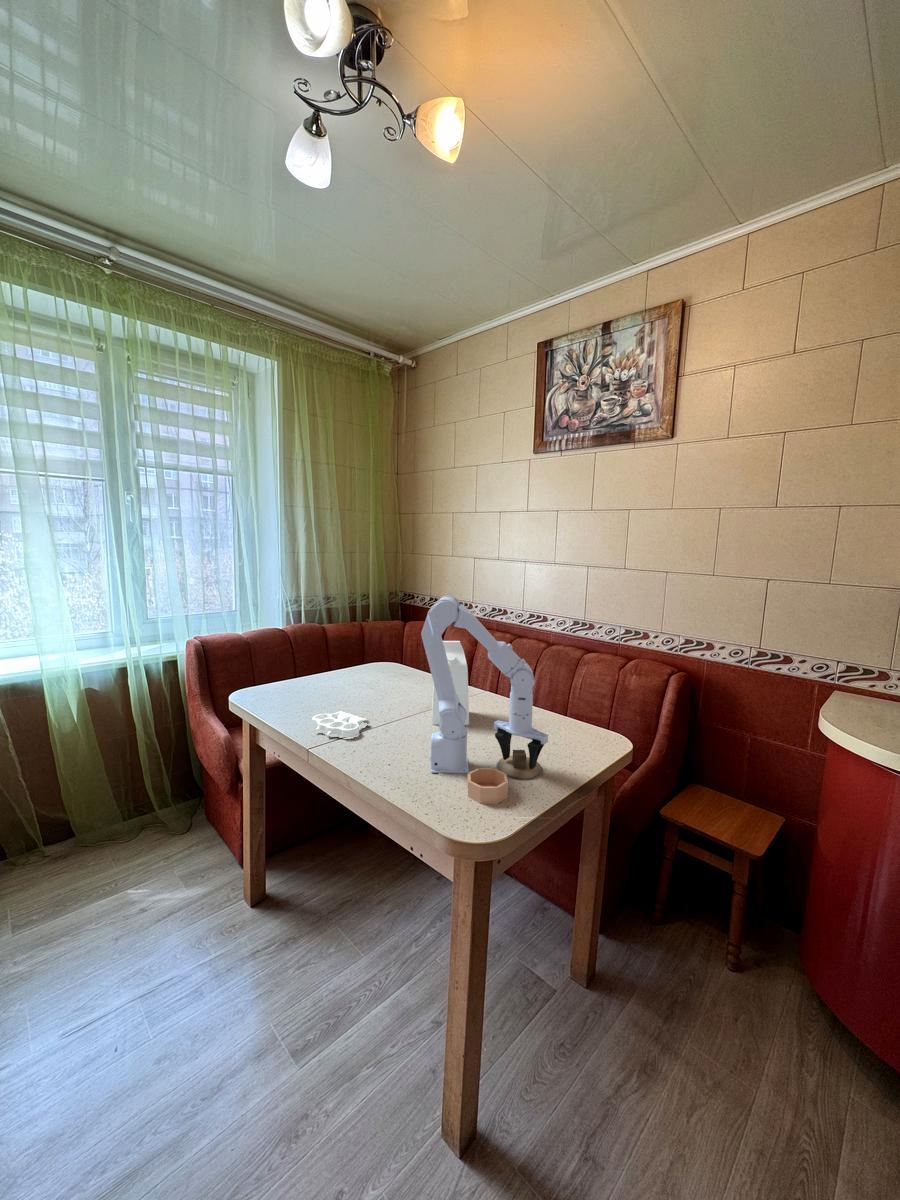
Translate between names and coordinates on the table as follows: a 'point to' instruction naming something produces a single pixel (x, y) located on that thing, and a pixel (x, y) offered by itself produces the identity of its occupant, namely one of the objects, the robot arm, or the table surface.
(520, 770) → the lid
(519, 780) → the mat
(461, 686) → the milk
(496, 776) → the bowl
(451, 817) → the table surface
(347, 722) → the white holed plate
